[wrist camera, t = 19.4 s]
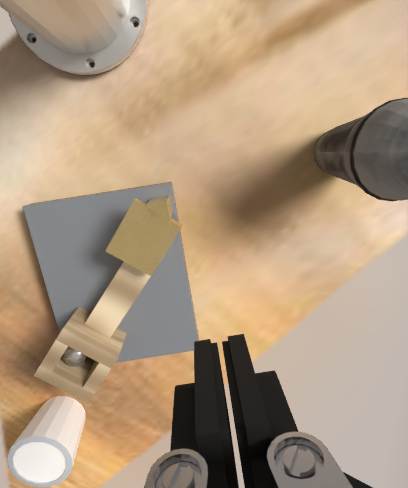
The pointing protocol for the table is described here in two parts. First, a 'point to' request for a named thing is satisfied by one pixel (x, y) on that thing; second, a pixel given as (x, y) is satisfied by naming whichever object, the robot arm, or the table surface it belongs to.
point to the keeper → (145, 234)
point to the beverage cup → (370, 151)
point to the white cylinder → (48, 443)
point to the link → (93, 337)
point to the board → (112, 269)
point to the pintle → (73, 357)
